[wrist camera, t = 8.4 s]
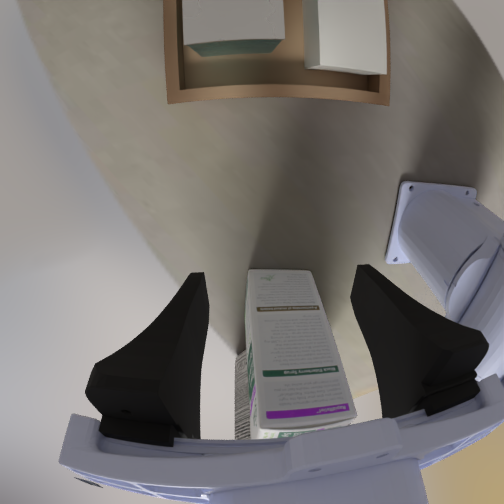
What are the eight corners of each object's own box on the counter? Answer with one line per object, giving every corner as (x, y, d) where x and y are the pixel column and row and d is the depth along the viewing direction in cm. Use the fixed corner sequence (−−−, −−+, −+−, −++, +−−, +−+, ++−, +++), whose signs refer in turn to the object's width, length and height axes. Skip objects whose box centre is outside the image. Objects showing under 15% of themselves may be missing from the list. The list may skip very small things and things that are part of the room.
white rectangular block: (356, -10, 12) (380, -26, 9) (360, 74, 16) (386, 74, 12) (300, -19, 12) (314, -40, 9) (304, 69, 16) (319, 64, 12)
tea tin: (268, -4, 13) (280, -38, 8) (271, 54, 15) (285, 38, 10) (199, 0, 13) (182, -32, 8) (201, 57, 15) (184, 45, 10)
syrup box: (246, 267, 25) (252, 430, 13) (313, 268, 25) (360, 420, 13) (244, 314, 28) (248, 458, 16) (303, 314, 28) (332, 451, 16)
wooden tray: (369, -24, 11) (383, -34, 9) (373, 103, 17) (389, 106, 15) (172, -31, 11) (164, -43, 9) (176, 102, 17) (167, 104, 15)
